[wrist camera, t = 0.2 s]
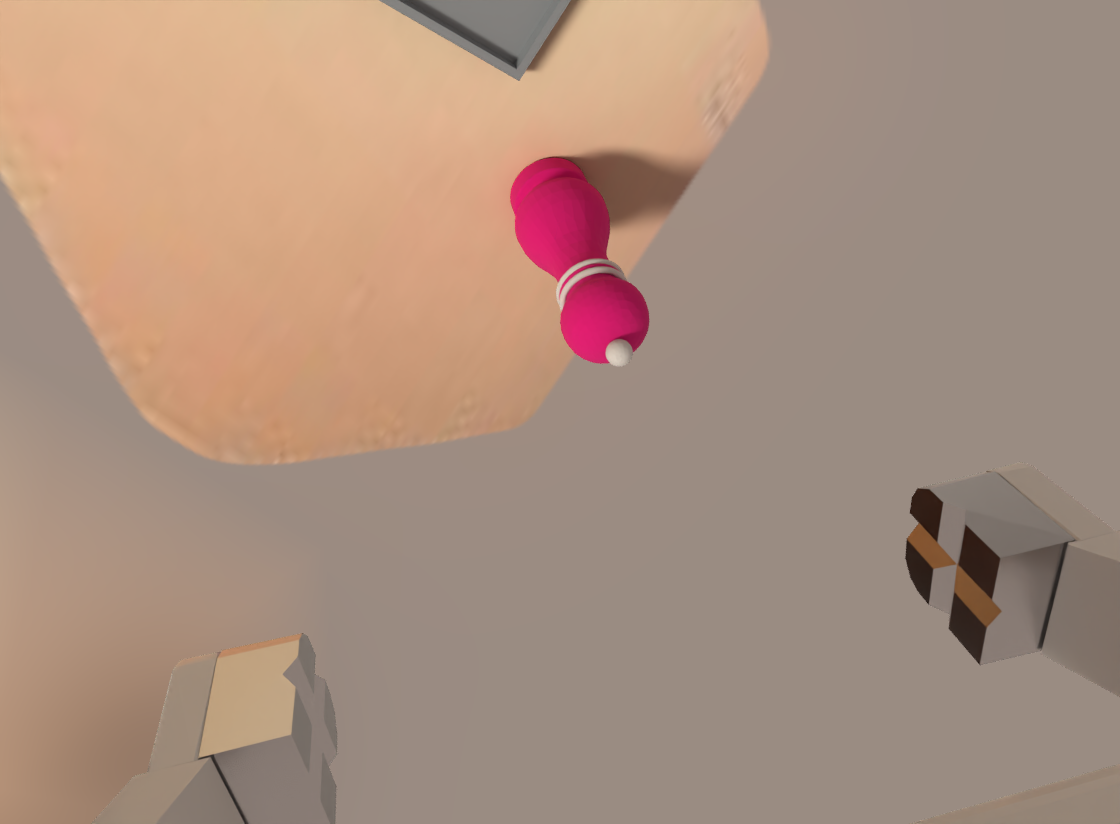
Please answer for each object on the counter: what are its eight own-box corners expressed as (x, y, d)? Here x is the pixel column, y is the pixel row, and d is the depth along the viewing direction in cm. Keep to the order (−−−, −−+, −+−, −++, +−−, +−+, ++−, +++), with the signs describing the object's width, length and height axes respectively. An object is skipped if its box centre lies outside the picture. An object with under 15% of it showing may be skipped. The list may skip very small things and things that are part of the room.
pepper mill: (578, 136, 65) (665, 302, 52) (601, 209, 70) (684, 376, 57) (491, 172, 65) (555, 346, 52) (520, 242, 71) (585, 415, 58)
